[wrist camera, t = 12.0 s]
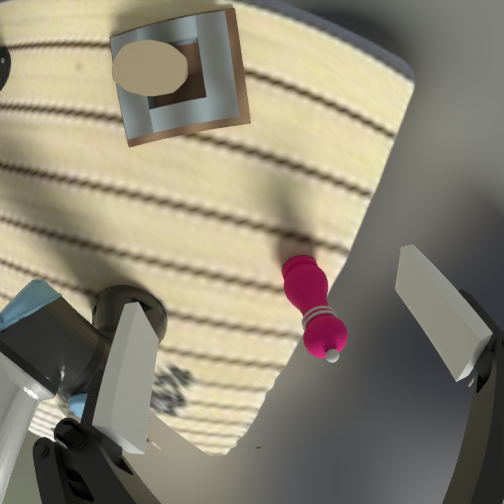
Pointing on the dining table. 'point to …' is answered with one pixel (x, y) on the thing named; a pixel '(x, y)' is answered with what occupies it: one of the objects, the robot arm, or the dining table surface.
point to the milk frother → (4, 66)
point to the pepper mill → (314, 307)
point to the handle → (150, 68)
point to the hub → (189, 79)
